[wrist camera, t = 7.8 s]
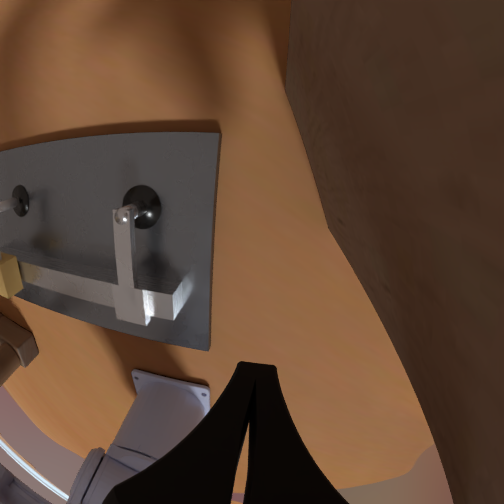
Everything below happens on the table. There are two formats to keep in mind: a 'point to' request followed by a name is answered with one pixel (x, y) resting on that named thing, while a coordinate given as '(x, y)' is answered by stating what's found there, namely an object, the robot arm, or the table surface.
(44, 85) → the table surface
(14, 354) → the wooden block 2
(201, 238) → the hole plate
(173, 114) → the table surface
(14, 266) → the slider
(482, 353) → the wooden block
